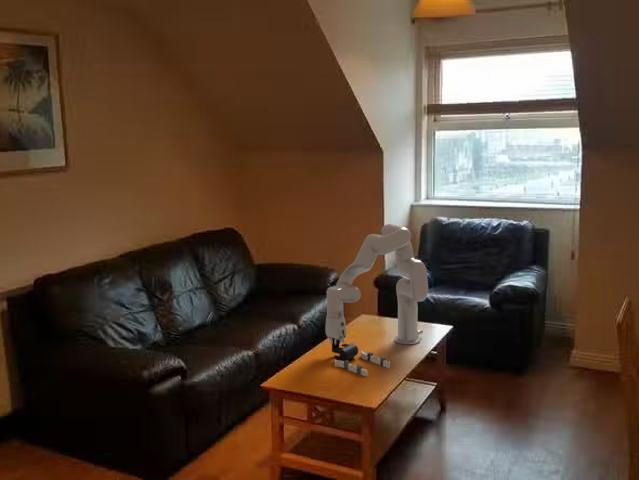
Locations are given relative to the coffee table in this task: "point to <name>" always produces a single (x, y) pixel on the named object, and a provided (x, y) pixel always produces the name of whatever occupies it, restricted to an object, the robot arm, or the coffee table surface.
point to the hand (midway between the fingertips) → (335, 351)
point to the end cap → (346, 352)
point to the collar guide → (358, 368)
